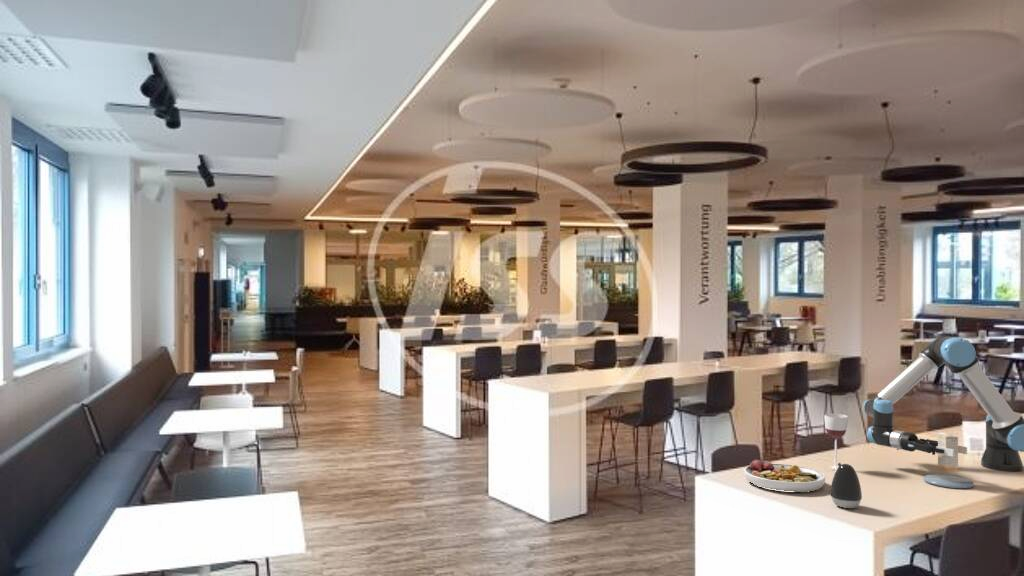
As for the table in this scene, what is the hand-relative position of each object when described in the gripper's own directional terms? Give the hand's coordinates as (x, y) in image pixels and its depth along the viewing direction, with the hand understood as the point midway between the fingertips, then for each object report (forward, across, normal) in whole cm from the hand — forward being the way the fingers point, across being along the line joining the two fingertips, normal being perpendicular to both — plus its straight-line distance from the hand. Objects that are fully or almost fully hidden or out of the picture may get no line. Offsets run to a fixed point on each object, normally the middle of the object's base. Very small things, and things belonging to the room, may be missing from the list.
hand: (960, 451), depth 285 cm
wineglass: (-41, +19, -14) cm, 48 cm away
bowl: (-35, +59, -15) cm, 70 cm away
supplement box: (-5, 0, -7) cm, 9 cm away
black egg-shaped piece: (-4, +64, -14) cm, 66 cm away
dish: (-4, 0, -14) cm, 14 cm away
